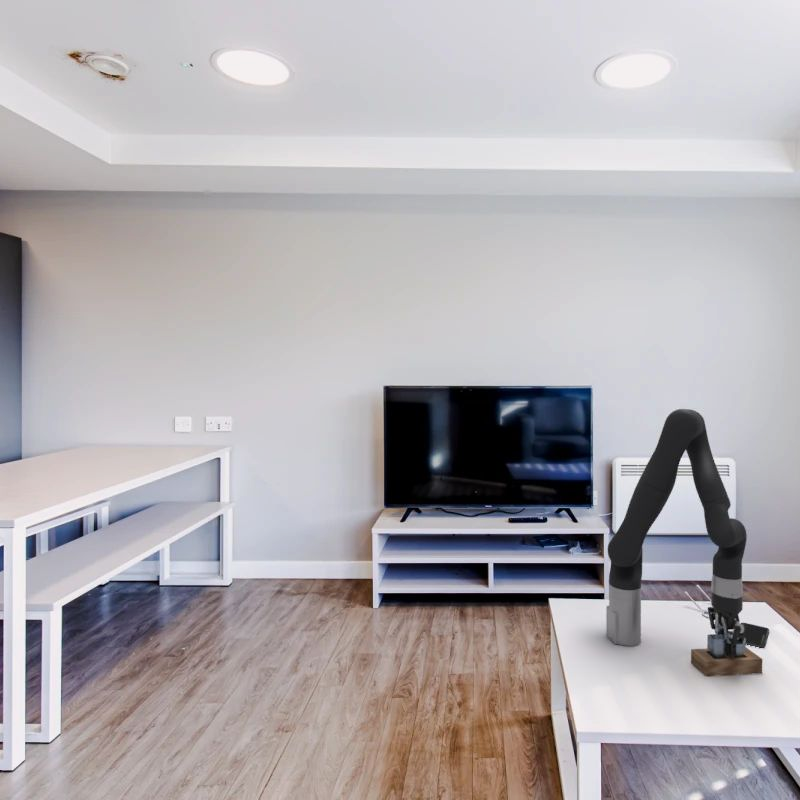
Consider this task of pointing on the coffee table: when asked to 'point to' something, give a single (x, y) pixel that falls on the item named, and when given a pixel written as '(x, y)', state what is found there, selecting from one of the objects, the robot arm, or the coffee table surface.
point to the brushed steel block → (723, 646)
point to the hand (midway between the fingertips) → (726, 651)
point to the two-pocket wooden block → (726, 663)
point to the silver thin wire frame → (697, 604)
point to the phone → (756, 635)
